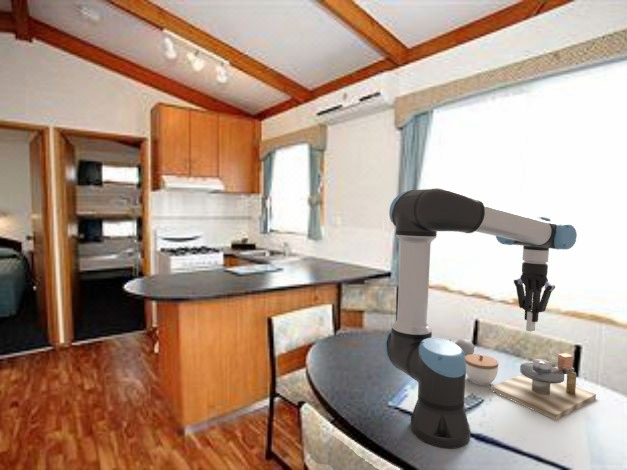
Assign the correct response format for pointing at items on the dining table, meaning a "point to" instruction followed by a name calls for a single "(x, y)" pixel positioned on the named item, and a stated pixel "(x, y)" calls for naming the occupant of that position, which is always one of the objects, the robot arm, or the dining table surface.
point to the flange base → (545, 394)
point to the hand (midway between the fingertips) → (530, 330)
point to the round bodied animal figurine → (465, 346)
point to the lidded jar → (481, 369)
